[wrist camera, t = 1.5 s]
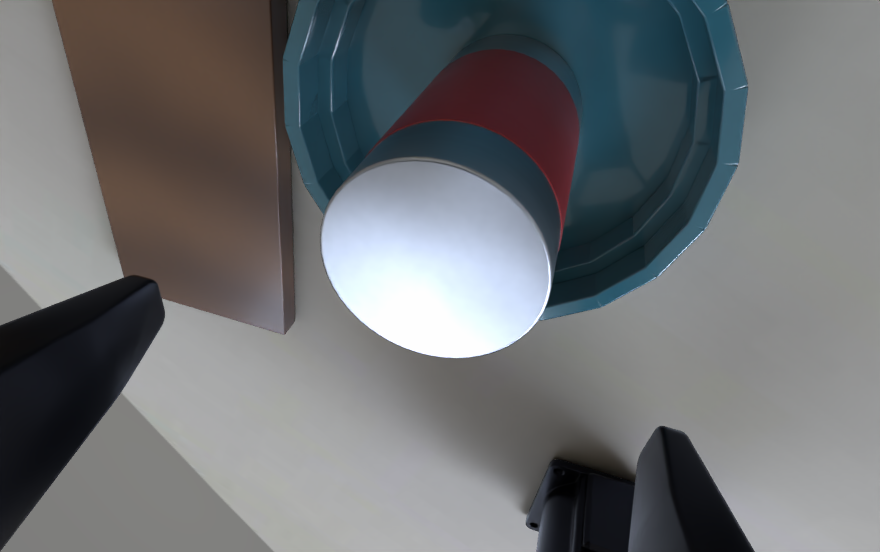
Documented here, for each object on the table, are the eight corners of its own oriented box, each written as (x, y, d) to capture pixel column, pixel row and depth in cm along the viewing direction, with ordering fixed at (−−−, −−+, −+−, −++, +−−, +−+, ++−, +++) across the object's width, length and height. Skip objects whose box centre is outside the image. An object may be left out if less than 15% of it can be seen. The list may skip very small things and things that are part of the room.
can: (560, 194, 21) (521, 385, 14) (426, 161, 22) (317, 325, 14) (603, 52, 18) (586, 194, 10) (446, 17, 19) (317, 128, 11)
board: (295, 320, 30) (284, 335, 29) (141, 275, 31) (126, 288, 30) (285, -47, 19) (268, -42, 18) (53, -95, 20) (26, -94, 20)
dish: (638, 309, 24) (639, 362, 21) (321, 224, 26) (288, 264, 23) (822, -87, 15) (861, -77, 13) (325, -175, 17) (273, -181, 14)
